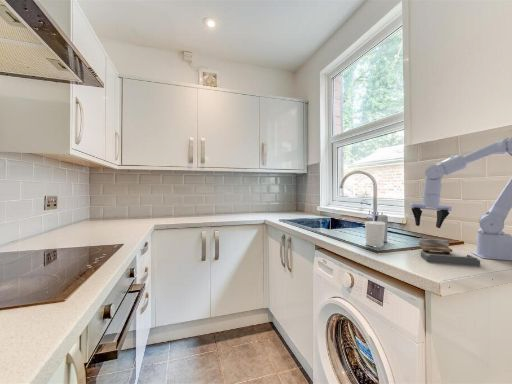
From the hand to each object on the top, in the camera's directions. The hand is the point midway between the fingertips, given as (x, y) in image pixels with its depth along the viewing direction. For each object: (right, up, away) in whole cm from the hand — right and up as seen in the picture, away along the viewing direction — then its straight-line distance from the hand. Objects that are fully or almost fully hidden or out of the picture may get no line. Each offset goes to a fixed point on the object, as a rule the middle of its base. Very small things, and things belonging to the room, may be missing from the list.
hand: (427, 226), depth 102 cm
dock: (-4, -9, -15) cm, 18 cm away
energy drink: (-14, -9, +11) cm, 20 cm away
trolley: (-2, -9, -7) cm, 12 cm away
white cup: (-21, -9, +3) cm, 23 cm away
